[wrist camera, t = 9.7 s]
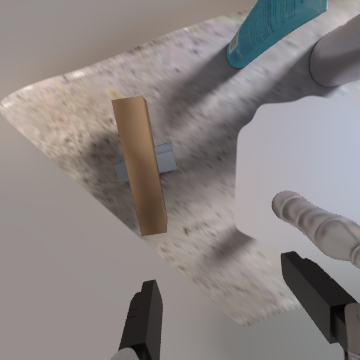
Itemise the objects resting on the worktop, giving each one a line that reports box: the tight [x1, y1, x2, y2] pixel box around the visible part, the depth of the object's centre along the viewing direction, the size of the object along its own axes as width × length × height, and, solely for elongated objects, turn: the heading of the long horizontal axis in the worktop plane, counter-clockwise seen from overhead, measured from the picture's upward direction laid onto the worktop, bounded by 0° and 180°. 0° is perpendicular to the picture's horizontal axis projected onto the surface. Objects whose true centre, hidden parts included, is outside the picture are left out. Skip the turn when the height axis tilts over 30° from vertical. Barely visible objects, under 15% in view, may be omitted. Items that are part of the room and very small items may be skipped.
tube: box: [227, 0, 328, 68], centre depth 24 cm, size 7×5×19 cm, turn 16°
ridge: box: [114, 143, 177, 183], centre depth 34 cm, size 10×5×7 cm, turn 104°
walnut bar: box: [111, 96, 167, 236], centre depth 28 cm, size 4×20×4 cm, turn 8°
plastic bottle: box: [272, 191, 360, 269], centre depth 32 cm, size 6×7×20 cm
